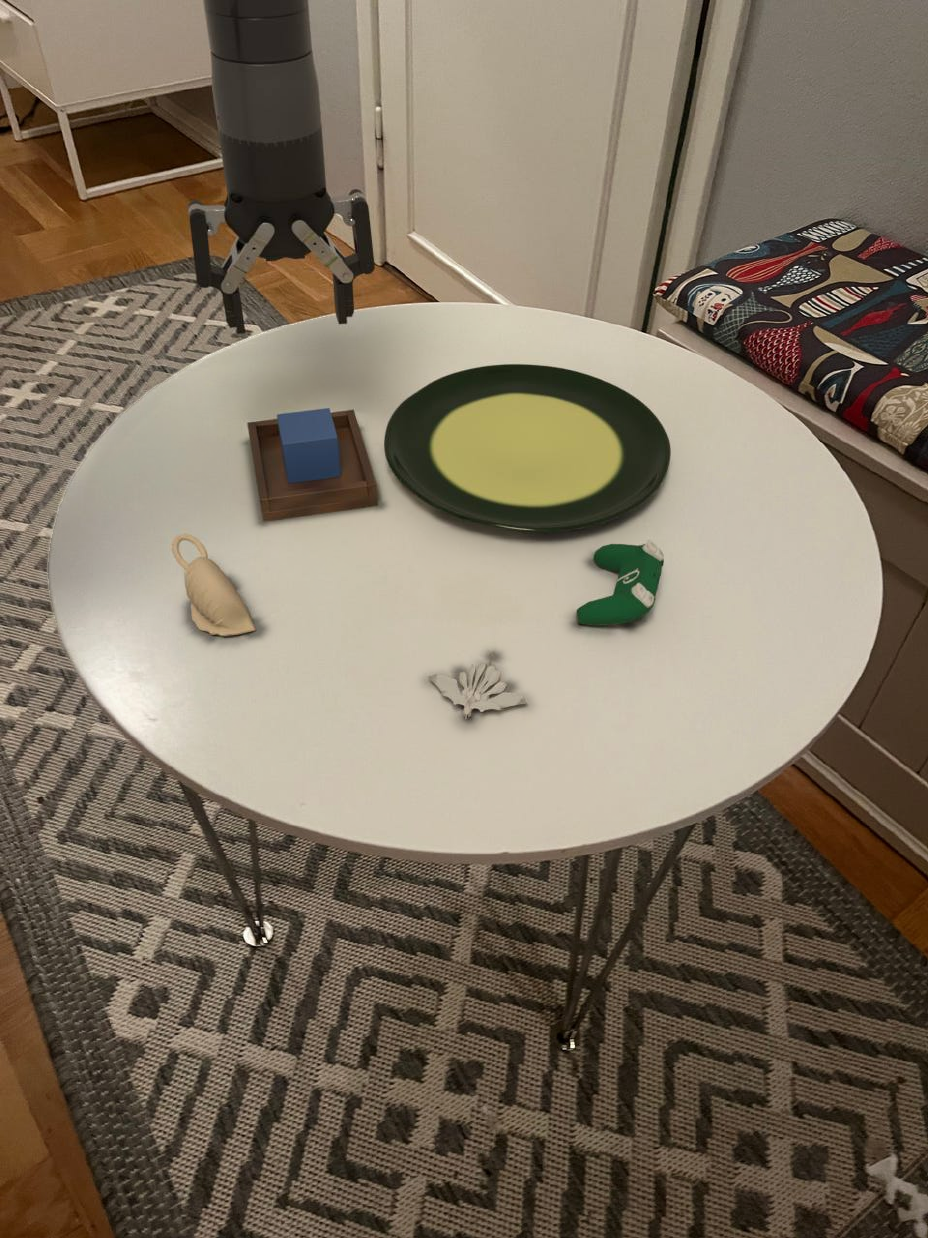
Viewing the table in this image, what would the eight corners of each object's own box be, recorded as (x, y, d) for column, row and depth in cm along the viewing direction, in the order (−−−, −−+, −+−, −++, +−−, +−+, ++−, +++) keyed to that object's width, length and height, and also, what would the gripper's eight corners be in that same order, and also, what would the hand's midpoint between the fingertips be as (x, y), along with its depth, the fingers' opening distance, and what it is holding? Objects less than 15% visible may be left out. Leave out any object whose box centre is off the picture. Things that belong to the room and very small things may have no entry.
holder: (263, 521, 87) (259, 500, 85) (250, 443, 96) (247, 422, 94) (377, 505, 89) (376, 484, 87) (355, 430, 97) (353, 409, 96)
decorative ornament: (208, 649, 76) (196, 601, 72) (176, 585, 81) (163, 537, 77) (256, 632, 77) (247, 584, 73) (222, 570, 82) (212, 522, 78)
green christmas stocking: (597, 648, 79) (657, 624, 75) (569, 618, 78) (629, 592, 74) (618, 576, 85) (674, 551, 82) (592, 547, 84) (648, 520, 80)
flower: (446, 652, 77) (448, 625, 76) (541, 676, 76) (545, 649, 74) (414, 710, 72) (415, 682, 70) (516, 737, 70) (520, 709, 68)
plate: (453, 583, 82) (453, 562, 80) (345, 415, 99) (343, 394, 98) (724, 504, 90) (729, 483, 88) (580, 361, 108) (582, 341, 106)
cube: (288, 484, 89) (282, 444, 86) (282, 453, 93) (276, 413, 90) (341, 477, 90) (337, 437, 87) (333, 446, 94) (329, 407, 90)
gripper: (170, 143, 66) (209, 355, 77) (375, 131, 68) (382, 338, 80) (167, 107, 71) (203, 311, 82) (357, 97, 73) (367, 296, 85)
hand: (291, 324), depth 81 cm, fingers open, 8 cm apart
